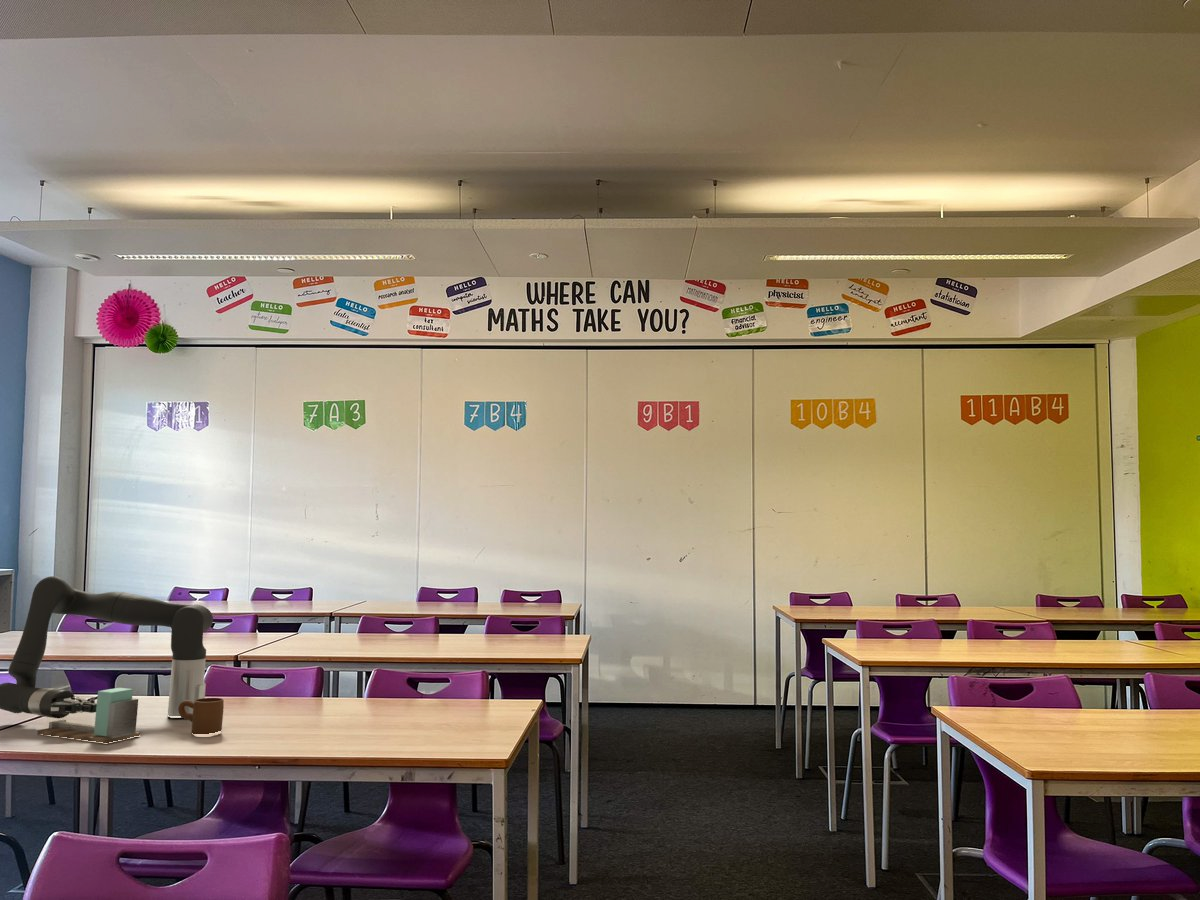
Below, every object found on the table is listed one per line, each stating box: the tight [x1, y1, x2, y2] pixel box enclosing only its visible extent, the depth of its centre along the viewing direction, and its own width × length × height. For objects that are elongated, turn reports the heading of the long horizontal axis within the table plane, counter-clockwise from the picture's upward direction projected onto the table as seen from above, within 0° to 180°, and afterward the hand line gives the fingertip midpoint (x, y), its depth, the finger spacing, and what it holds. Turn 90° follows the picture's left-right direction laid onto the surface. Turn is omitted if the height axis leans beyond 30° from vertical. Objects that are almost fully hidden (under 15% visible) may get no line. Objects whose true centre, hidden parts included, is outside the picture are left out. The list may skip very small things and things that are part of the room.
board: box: [37, 727, 141, 743], centre depth 223 cm, size 26×10×1 cm, turn 69°
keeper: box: [94, 687, 134, 736], centre depth 221 cm, size 5×6×11 cm
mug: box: [178, 697, 225, 734], centre depth 228 cm, size 12×8×9 cm, turn 90°
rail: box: [48, 698, 139, 739], centre depth 224 cm, size 26×7×9 cm, turn 69°
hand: (96, 708), depth 223 cm, fingers closed
